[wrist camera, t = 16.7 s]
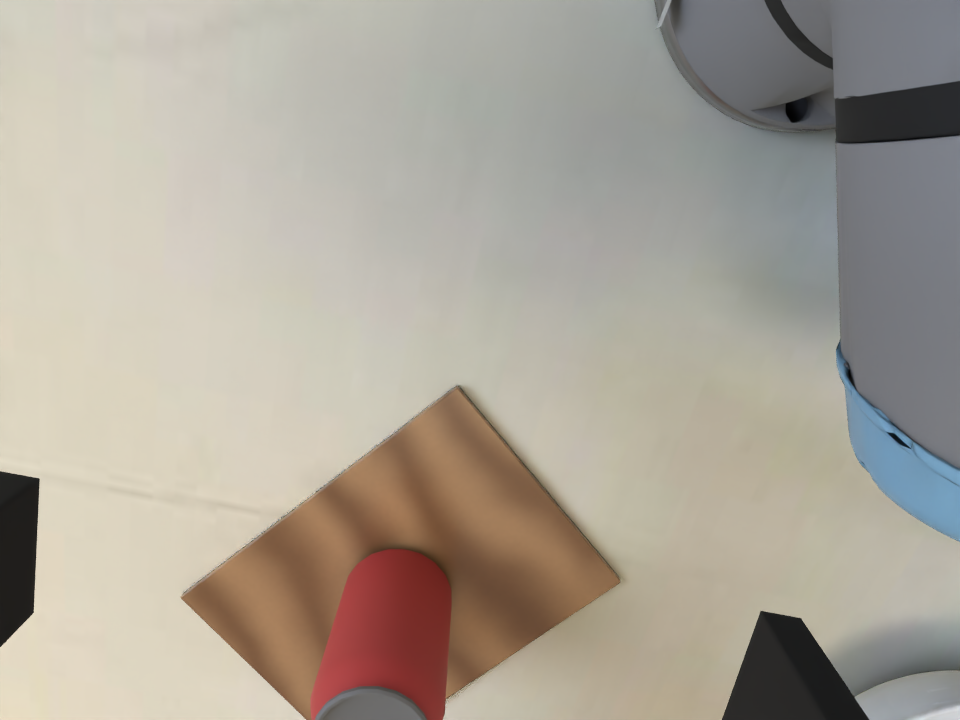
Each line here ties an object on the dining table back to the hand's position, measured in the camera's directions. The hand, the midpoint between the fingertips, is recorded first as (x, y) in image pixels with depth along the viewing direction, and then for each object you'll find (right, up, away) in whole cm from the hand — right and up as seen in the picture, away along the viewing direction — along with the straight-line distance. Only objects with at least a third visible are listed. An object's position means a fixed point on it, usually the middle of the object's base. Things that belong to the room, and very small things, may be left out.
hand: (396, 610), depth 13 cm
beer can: (-4, -10, +32) cm, 34 cm away
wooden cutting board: (-3, -10, +33) cm, 34 cm away
